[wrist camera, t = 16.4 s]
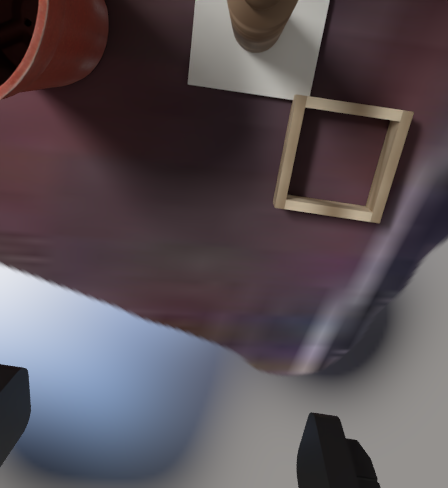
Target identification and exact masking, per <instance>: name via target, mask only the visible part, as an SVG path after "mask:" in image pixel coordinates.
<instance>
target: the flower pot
mask: <svg viewBox="0 0 448 488" xmlns="http://www.w3.org/2000/svg"><path fill="white" fill-rule="evenodd" d="M26 19H29V20H31V22H32V25H31V26H30V27H28V26H26V25H25V20H26ZM108 31H109V19H108V10H107V6H106V4H105V1H104V0H0V100H1V99H5V98H8V97H10V96H13V95H15V94H17V93H19V92H26V91H33V90H39V89H46V88H53V87H61V86H66V85H69V84H72V83H75V82H77V81H79V80H81V79H83V78H85V77H86V76H87V75H89V74H90V73H91V72H92V70H93V69H94V68H95V67H96V66H97V64H98V63H99V61H100V59H101V57H102V55H103V52H104V50H105V47H106V43H107V38H108ZM22 58H23V59H22ZM21 59H22V61H21Z"/></svg>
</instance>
